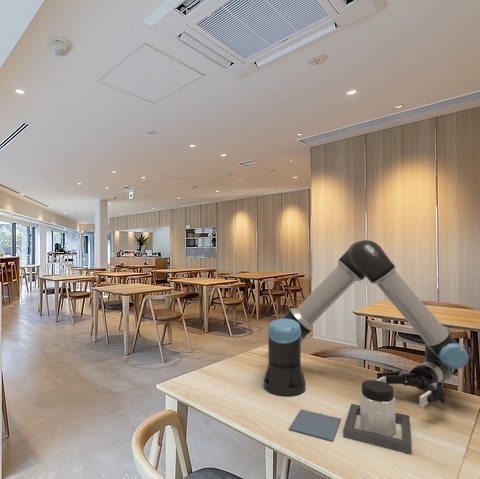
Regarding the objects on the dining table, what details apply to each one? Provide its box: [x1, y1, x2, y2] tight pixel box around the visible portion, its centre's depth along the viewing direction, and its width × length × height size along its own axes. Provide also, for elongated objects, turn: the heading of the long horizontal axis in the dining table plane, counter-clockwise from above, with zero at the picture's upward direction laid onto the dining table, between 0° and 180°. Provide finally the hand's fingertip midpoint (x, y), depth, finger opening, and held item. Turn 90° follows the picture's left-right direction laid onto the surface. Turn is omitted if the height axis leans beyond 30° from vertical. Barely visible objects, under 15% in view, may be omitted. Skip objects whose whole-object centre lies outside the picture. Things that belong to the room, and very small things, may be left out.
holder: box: [342, 403, 412, 455], centre depth 88 cm, size 16×16×2 cm
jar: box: [359, 379, 397, 437], centre depth 88 cm, size 9×8×12 cm
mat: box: [288, 409, 342, 443], centre depth 90 cm, size 12×12×1 cm
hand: (396, 393), depth 95 cm, fingers open, 13 cm apart
